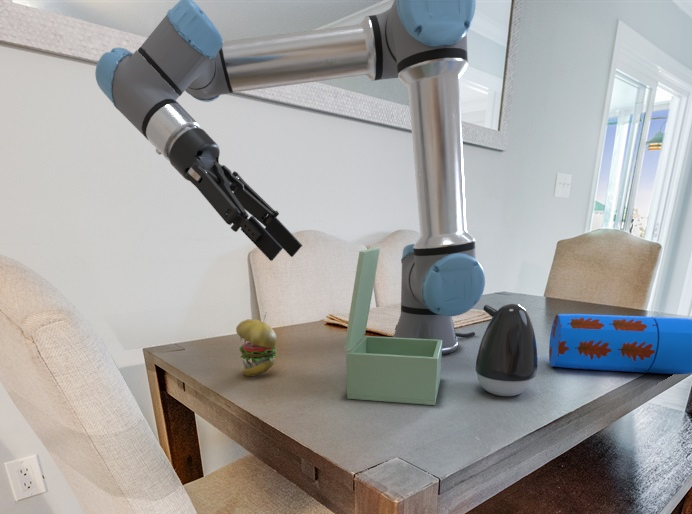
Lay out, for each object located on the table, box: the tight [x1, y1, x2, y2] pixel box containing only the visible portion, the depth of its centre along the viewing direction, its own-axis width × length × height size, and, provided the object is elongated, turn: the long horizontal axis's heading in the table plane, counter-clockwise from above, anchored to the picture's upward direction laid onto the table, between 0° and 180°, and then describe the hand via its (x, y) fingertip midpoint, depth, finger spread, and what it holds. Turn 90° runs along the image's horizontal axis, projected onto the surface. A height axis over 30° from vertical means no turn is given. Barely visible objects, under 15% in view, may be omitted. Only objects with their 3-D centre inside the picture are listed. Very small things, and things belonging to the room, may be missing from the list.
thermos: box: [548, 313, 692, 375], centre depth 91 cm, size 11×11×25 cm
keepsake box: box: [345, 335, 443, 406], centre depth 80 cm, size 15×13×8 cm
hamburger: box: [235, 311, 278, 377], centre depth 86 cm, size 8×7×12 cm
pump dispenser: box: [474, 303, 538, 397], centre depth 78 cm, size 10×10×15 cm
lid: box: [343, 246, 381, 352], centre depth 76 cm, size 15×13×1 cm
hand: (287, 252), depth 76 cm, fingers open, 8 cm apart
